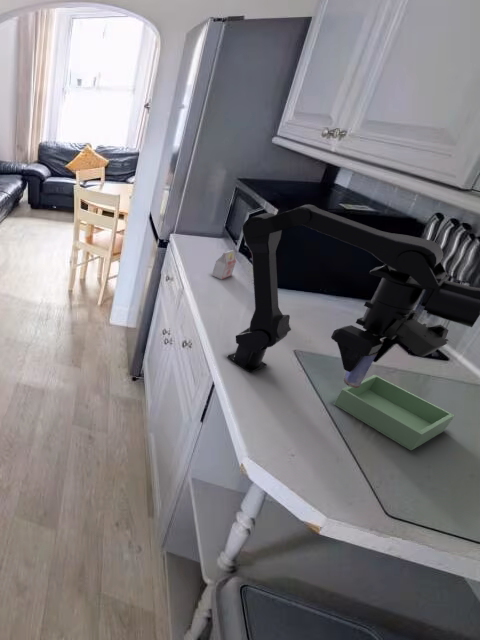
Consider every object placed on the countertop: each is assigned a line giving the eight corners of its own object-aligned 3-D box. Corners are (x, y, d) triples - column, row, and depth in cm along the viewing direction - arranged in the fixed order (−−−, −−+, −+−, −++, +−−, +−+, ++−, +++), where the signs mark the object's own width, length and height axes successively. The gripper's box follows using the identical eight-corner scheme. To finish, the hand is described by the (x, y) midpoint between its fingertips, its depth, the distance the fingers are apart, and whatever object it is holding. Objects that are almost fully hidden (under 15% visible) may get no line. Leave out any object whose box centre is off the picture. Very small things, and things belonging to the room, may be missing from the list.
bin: (410, 450, 78) (421, 434, 76) (333, 404, 89) (341, 389, 87) (443, 431, 83) (455, 415, 81) (366, 389, 94) (375, 374, 92)
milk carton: (211, 275, 149) (218, 251, 144) (221, 271, 152) (229, 247, 148) (221, 279, 146) (229, 254, 142) (231, 275, 149) (239, 251, 145)
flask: (358, 390, 80) (380, 347, 76) (339, 382, 83) (360, 340, 78) (367, 372, 86) (388, 331, 82) (349, 365, 88) (369, 325, 84)
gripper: (422, 334, 67) (382, 403, 73) (477, 313, 73) (436, 379, 79) (345, 302, 76) (315, 366, 82) (399, 287, 82) (368, 347, 89)
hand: (360, 365), depth 83 cm, fingers closed on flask, 9 cm apart
